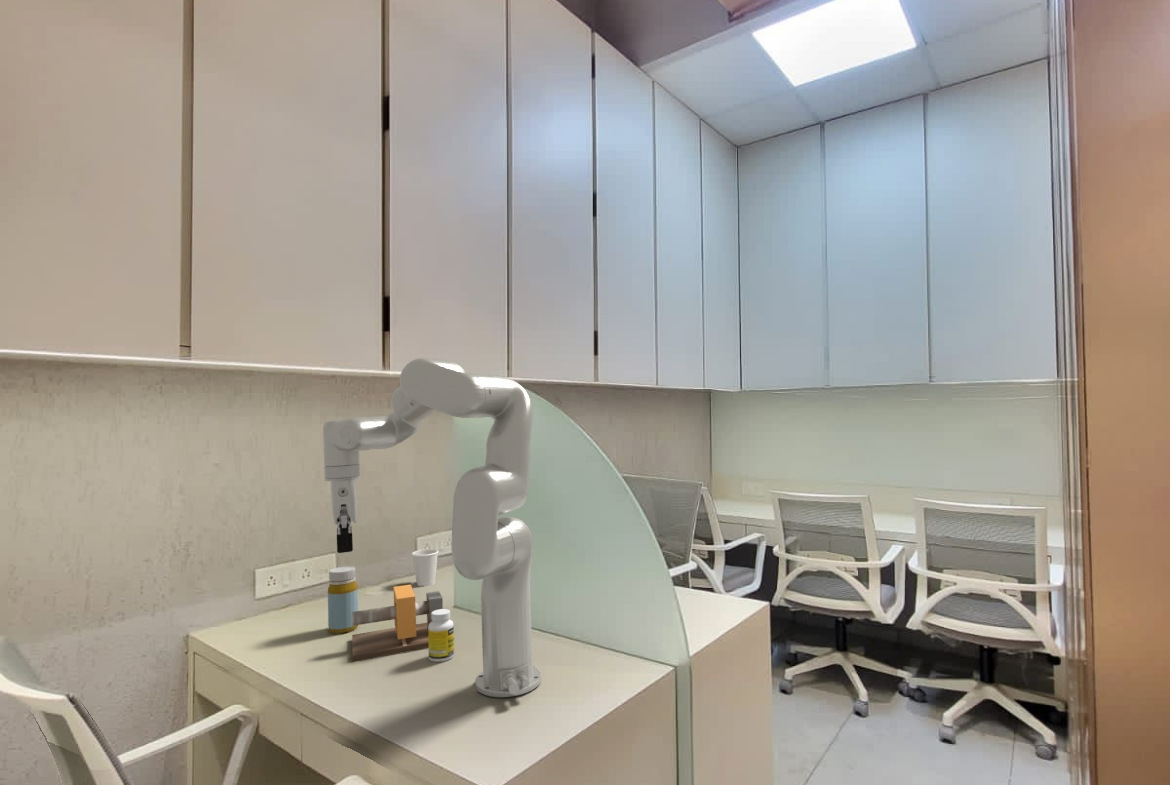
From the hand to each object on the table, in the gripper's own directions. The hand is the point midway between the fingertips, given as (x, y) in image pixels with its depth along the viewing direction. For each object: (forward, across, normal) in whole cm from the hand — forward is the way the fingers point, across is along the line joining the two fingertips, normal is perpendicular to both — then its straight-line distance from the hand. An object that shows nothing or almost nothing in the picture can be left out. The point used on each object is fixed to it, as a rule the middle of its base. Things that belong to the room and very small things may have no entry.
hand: (344, 548), depth 134 cm
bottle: (+23, +16, +1) cm, 28 cm away
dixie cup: (+23, +49, -24) cm, 59 cm away
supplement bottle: (+24, -14, -19) cm, 33 cm away
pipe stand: (+23, 0, -11) cm, 26 cm away
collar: (+21, 0, -12) cm, 24 cm away
